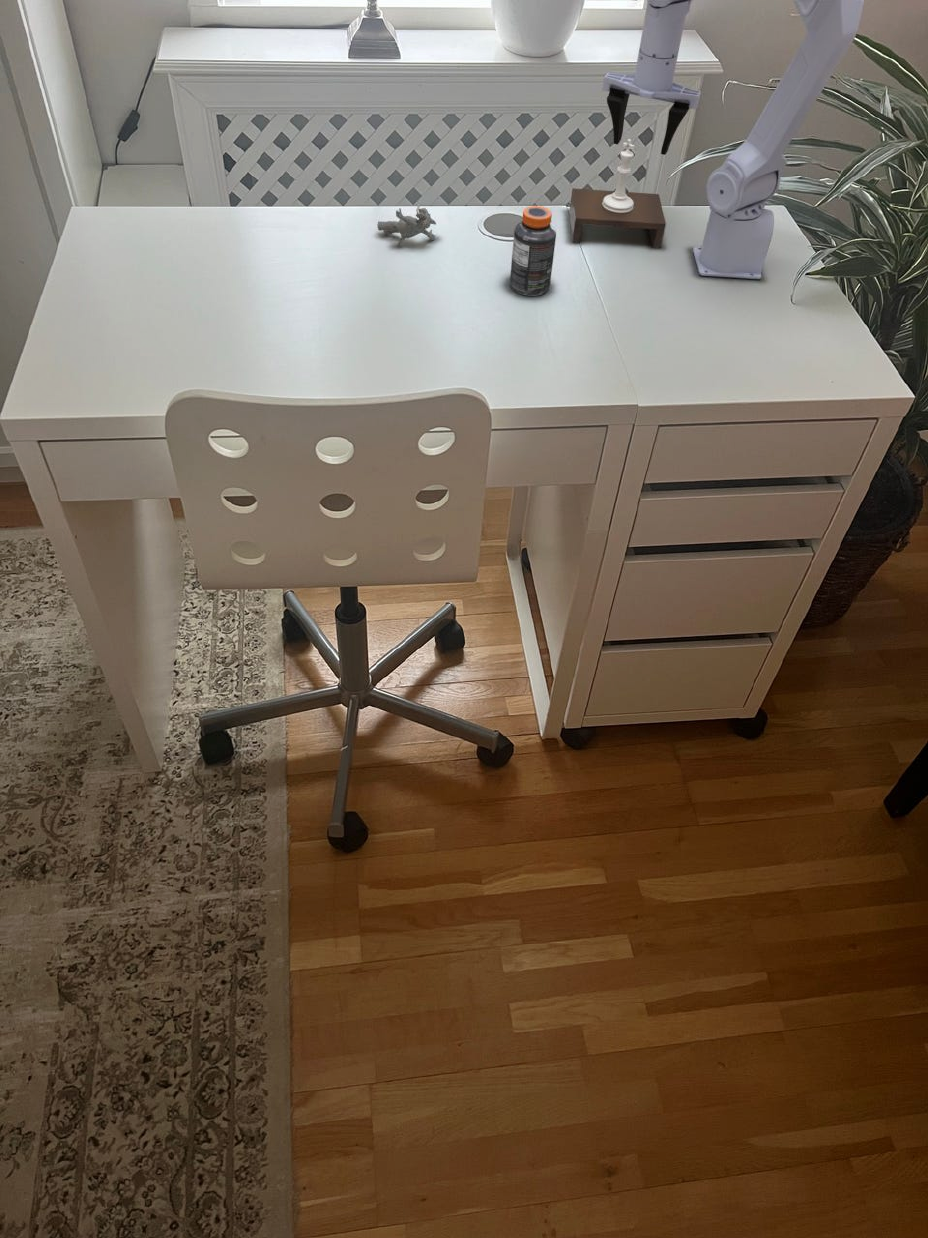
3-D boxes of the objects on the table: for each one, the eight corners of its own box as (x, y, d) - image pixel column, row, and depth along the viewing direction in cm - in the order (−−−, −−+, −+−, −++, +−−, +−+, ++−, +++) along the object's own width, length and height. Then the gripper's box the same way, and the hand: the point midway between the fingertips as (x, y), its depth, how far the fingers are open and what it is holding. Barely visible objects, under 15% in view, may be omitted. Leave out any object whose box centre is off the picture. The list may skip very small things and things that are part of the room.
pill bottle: (550, 277, 144) (560, 203, 135) (548, 298, 140) (558, 223, 131) (510, 273, 144) (517, 199, 135) (507, 294, 140) (515, 219, 131)
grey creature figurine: (403, 221, 153) (450, 217, 148) (398, 259, 153) (444, 256, 148) (364, 195, 144) (412, 190, 140) (358, 235, 145) (406, 232, 140)
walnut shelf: (653, 217, 158) (659, 193, 155) (660, 248, 151) (666, 223, 148) (569, 212, 158) (572, 188, 155) (572, 242, 151) (575, 217, 148)
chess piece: (625, 215, 149) (637, 149, 142) (596, 206, 151) (607, 140, 143) (638, 204, 152) (651, 138, 145) (610, 195, 154) (621, 129, 146)
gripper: (603, 50, 140) (589, 146, 150) (701, 69, 137) (679, 166, 147) (616, 35, 144) (601, 129, 155) (711, 54, 141) (690, 149, 152)
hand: (640, 146), depth 151 cm, fingers open, 7 cm apart
